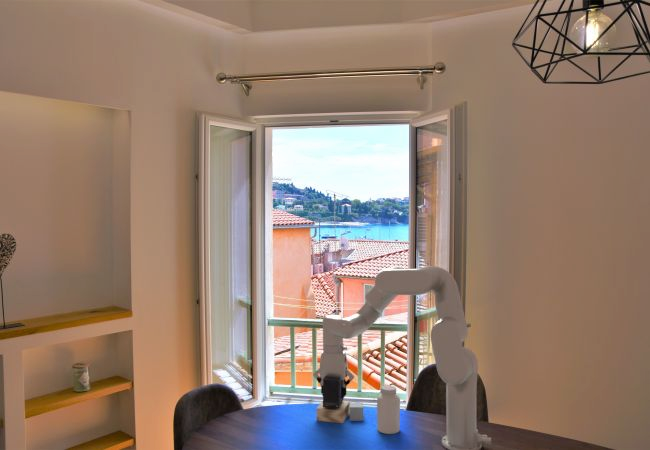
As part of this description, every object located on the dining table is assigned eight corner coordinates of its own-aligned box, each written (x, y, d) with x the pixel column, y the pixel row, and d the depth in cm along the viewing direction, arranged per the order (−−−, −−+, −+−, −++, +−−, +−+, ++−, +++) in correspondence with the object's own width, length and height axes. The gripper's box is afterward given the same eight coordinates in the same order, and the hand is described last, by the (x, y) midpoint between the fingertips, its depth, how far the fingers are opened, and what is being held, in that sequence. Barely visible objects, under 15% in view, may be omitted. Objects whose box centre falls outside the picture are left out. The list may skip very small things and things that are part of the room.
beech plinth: (349, 413, 196) (349, 401, 196) (342, 423, 186) (342, 411, 186) (324, 410, 199) (324, 399, 199) (316, 420, 189) (316, 408, 189)
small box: (339, 408, 186) (339, 380, 186) (322, 407, 188) (321, 379, 188) (344, 398, 197) (344, 371, 197) (328, 397, 198) (327, 370, 198)
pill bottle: (397, 436, 175) (397, 392, 175) (374, 433, 177) (374, 389, 177) (402, 427, 182) (401, 385, 182) (379, 424, 185) (379, 382, 185)
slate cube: (363, 415, 194) (362, 402, 194) (363, 420, 189) (363, 407, 189) (349, 415, 194) (349, 402, 194) (349, 420, 189) (349, 407, 189)
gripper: (358, 347, 193) (358, 395, 193) (314, 344, 198) (315, 391, 198) (353, 352, 186) (353, 401, 186) (307, 349, 191) (308, 397, 191)
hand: (333, 395), depth 192 cm, fingers closed on small box, 6 cm apart
